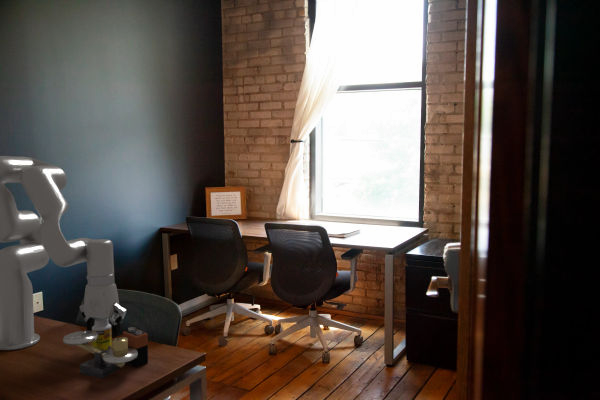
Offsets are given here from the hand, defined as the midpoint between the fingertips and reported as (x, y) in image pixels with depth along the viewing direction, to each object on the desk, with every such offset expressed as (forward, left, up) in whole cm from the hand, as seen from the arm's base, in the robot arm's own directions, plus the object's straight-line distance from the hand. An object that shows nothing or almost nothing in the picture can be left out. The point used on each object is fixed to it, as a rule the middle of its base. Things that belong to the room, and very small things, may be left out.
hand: (103, 334), depth 147 cm
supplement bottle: (-1, 0, -6) cm, 6 cm away
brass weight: (+16, -11, +1) cm, 20 cm away
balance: (+9, -11, -5) cm, 15 cm away
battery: (+14, -3, -6) cm, 16 cm away
